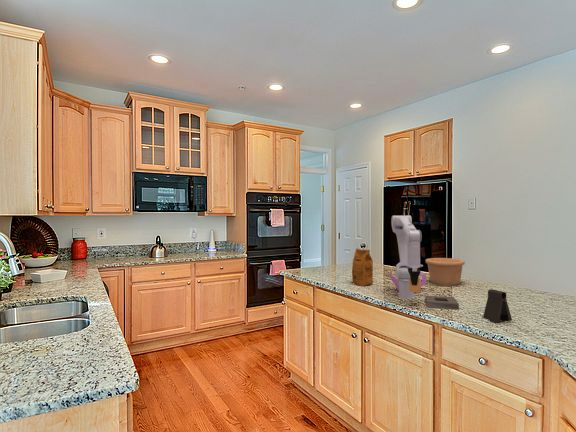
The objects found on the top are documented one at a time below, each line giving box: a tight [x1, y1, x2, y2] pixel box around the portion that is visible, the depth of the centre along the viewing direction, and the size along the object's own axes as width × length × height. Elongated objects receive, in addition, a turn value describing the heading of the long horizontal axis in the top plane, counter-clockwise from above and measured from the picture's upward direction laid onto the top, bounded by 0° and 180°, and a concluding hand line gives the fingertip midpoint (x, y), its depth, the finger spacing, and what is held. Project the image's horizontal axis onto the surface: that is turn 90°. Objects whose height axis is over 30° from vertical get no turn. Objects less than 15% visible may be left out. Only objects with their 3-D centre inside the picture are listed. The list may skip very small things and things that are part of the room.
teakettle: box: [387, 272, 428, 294], centre depth 197 cm, size 17×17×12 cm
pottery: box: [425, 257, 465, 287], centre depth 212 cm, size 22×22×14 cm
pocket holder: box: [424, 295, 460, 311], centre depth 162 cm, size 13×13×3 cm
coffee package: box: [351, 248, 374, 287], centre depth 214 cm, size 10×12×22 cm
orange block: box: [409, 277, 421, 293], centre depth 164 cm, size 4×4×6 cm
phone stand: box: [482, 288, 513, 324], centre depth 141 cm, size 9×6×12 cm, turn 110°
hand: (414, 284), depth 164 cm, fingers closed on orange block, 4 cm apart
